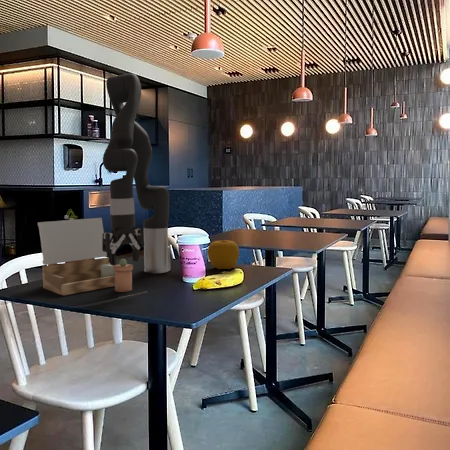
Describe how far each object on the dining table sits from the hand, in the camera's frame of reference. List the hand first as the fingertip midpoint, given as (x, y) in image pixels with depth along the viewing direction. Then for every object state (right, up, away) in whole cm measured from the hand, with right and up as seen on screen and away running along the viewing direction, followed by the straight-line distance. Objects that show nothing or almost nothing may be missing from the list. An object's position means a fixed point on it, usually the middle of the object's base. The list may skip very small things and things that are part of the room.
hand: (124, 263), depth 158 cm
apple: (+32, -5, +41) cm, 52 cm away
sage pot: (-8, -8, +12) cm, 16 cm away
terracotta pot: (0, -9, +1) cm, 9 cm away
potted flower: (-25, -7, +31) cm, 41 cm away
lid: (-19, +7, +11) cm, 23 cm away
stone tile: (-1, -9, +1) cm, 10 cm away
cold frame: (-15, -9, +9) cm, 20 cm away
